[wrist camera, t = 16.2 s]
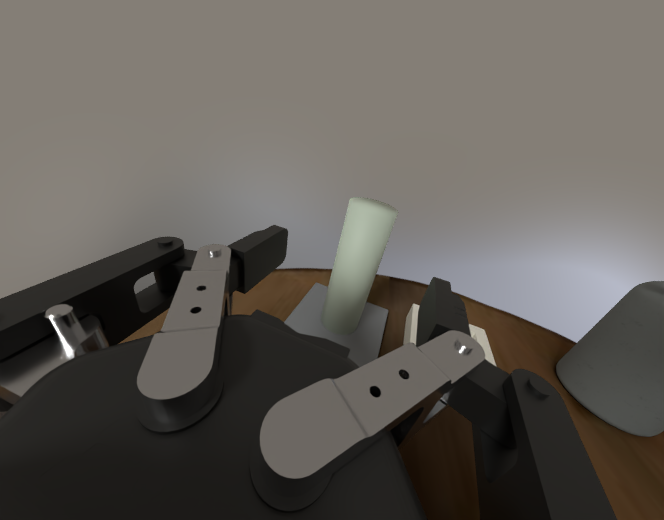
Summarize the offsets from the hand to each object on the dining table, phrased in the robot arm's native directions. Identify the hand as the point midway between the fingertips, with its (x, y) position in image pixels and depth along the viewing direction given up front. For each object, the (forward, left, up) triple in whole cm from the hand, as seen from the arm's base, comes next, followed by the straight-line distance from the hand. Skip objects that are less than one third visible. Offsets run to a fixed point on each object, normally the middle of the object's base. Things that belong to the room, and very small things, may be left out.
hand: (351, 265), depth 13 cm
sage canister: (+2, -13, -16) cm, 21 cm away
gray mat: (+2, -13, -17) cm, 22 cm away
